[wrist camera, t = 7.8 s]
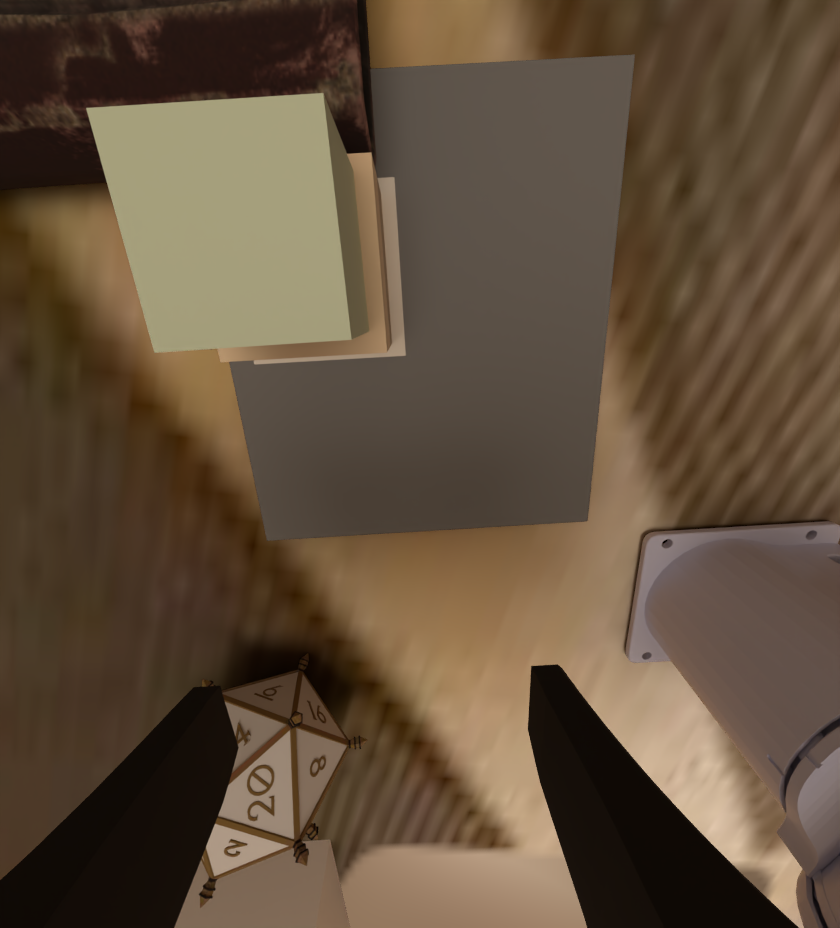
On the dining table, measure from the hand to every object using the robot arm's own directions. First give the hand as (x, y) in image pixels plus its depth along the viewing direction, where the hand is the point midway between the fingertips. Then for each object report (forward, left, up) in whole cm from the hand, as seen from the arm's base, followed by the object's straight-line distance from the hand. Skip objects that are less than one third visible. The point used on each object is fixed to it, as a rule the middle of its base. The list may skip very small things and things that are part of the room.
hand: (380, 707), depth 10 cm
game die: (+7, +11, -11) cm, 17 cm away
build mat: (-2, -8, -10) cm, 13 cm away
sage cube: (+2, -10, -6) cm, 12 cm away
